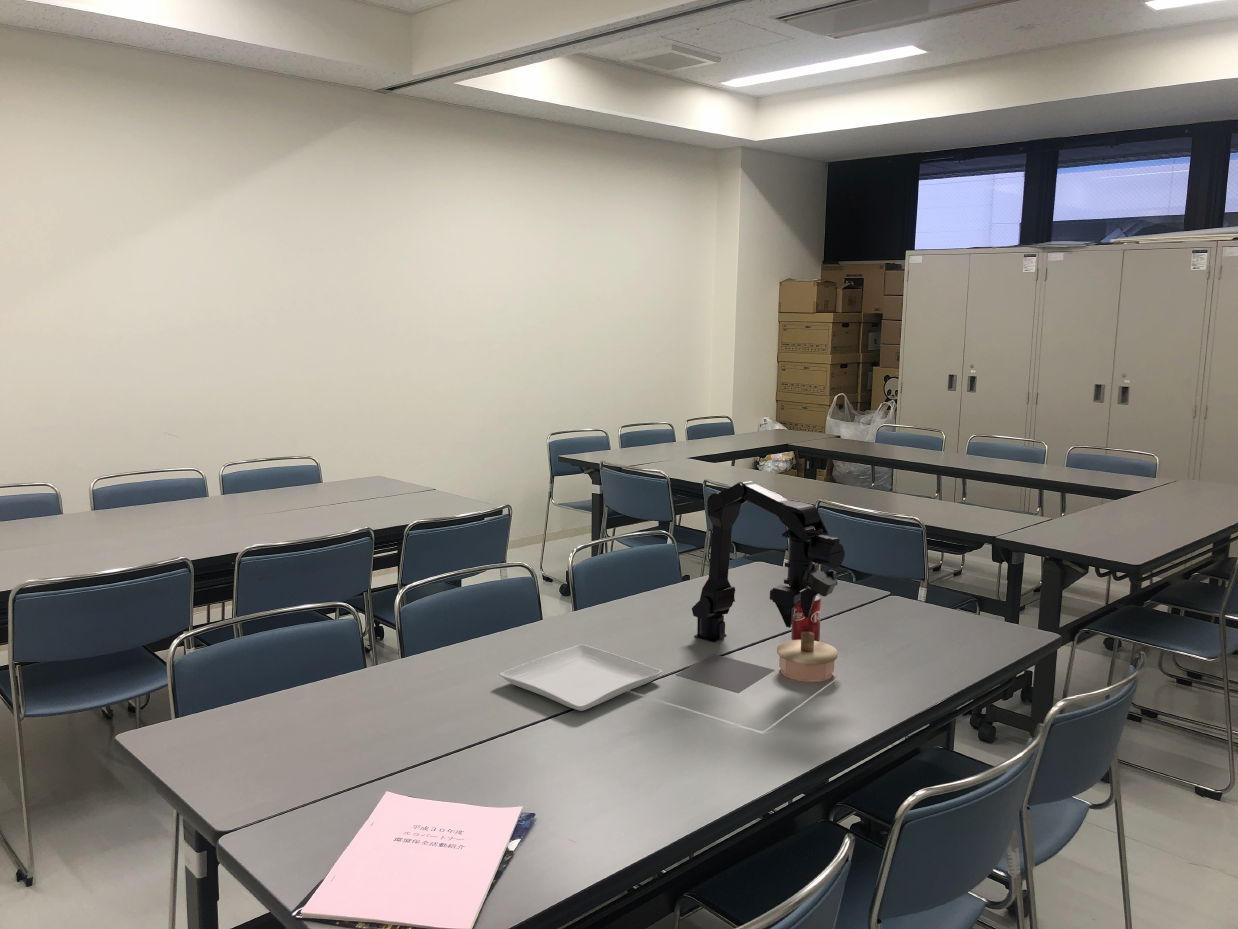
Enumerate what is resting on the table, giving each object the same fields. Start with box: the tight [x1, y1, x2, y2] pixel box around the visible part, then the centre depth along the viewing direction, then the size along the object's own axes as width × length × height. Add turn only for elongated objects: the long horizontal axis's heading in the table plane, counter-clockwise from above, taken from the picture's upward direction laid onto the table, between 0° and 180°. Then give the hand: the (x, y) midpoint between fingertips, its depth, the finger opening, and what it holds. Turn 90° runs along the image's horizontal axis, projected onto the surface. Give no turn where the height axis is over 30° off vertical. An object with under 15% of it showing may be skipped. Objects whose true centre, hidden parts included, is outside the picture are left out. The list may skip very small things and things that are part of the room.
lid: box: [776, 632, 839, 664], centre depth 210 cm, size 14×14×5 cm
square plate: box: [498, 643, 663, 712], centre depth 205 cm, size 27×27×4 cm
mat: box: [675, 653, 775, 694], centre depth 211 cm, size 17×17×1 cm
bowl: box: [778, 656, 835, 683], centre depth 211 cm, size 12×12×5 cm
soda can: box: [790, 594, 822, 642], centre depth 232 cm, size 7×7×12 cm
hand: (797, 622), depth 212 cm, fingers open, 9 cm apart
